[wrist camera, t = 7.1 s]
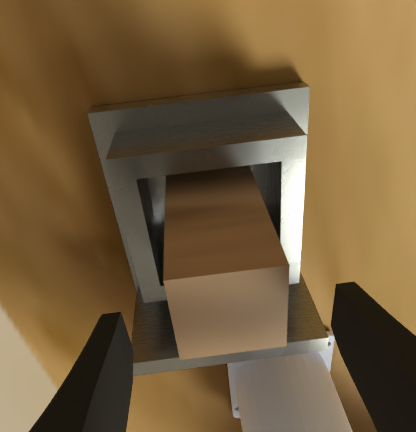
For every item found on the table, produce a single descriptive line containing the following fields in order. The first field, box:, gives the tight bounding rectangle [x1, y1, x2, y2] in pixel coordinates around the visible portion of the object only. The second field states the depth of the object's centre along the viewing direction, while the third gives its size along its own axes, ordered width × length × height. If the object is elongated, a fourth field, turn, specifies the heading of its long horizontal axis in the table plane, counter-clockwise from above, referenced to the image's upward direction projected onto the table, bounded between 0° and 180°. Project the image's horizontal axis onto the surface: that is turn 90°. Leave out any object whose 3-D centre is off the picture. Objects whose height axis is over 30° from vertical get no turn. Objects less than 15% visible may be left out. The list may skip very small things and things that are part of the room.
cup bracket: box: [87, 81, 329, 376], centre depth 18 cm, size 12×10×6 cm
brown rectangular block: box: [163, 165, 290, 360], centre depth 16 cm, size 4×4×8 cm
